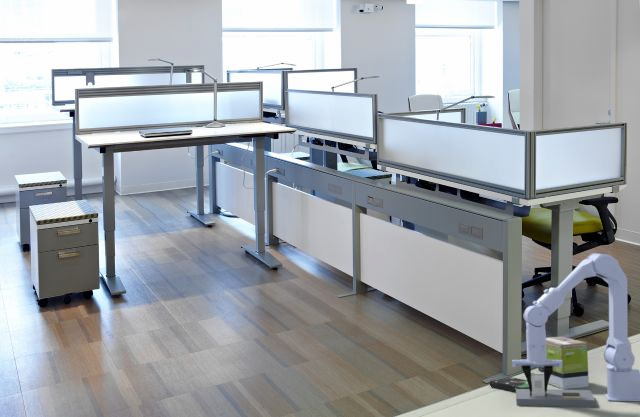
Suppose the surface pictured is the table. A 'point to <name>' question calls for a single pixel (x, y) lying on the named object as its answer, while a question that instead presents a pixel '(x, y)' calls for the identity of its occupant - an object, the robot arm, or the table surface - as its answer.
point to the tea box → (567, 362)
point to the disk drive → (509, 384)
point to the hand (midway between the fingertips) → (538, 391)
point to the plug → (537, 384)
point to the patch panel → (556, 398)
